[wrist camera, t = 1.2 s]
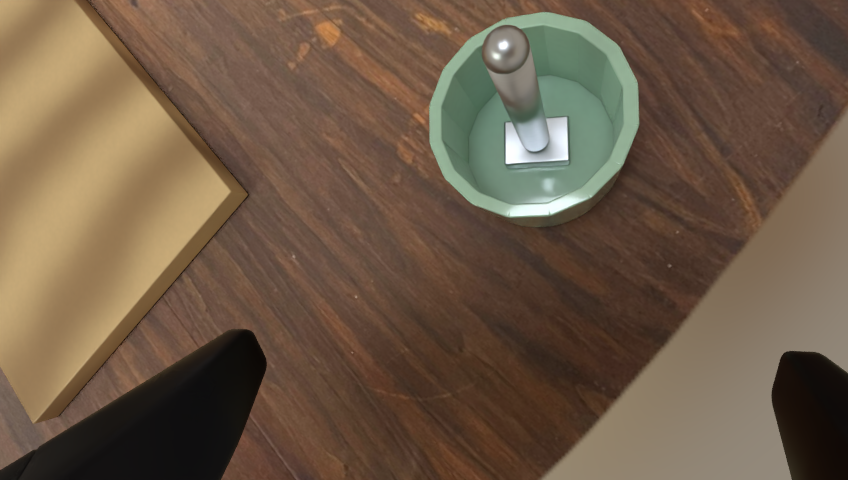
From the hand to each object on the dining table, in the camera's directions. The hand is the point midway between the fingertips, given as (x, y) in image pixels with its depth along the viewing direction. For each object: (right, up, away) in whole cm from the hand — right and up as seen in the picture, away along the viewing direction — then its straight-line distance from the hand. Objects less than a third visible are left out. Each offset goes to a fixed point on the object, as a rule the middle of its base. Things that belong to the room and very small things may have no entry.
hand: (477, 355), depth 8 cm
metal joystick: (+4, +6, +14) cm, 16 cm away
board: (-31, +12, +26) cm, 42 cm away
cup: (+4, +6, +14) cm, 16 cm away
